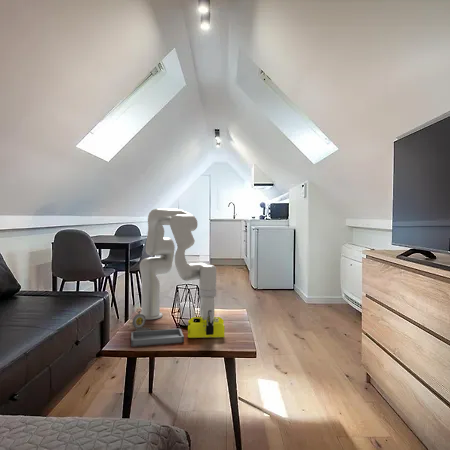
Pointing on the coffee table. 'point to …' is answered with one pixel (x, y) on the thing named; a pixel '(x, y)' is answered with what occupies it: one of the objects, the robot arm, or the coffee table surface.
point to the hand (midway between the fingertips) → (207, 331)
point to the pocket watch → (138, 319)
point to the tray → (156, 337)
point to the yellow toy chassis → (201, 324)
